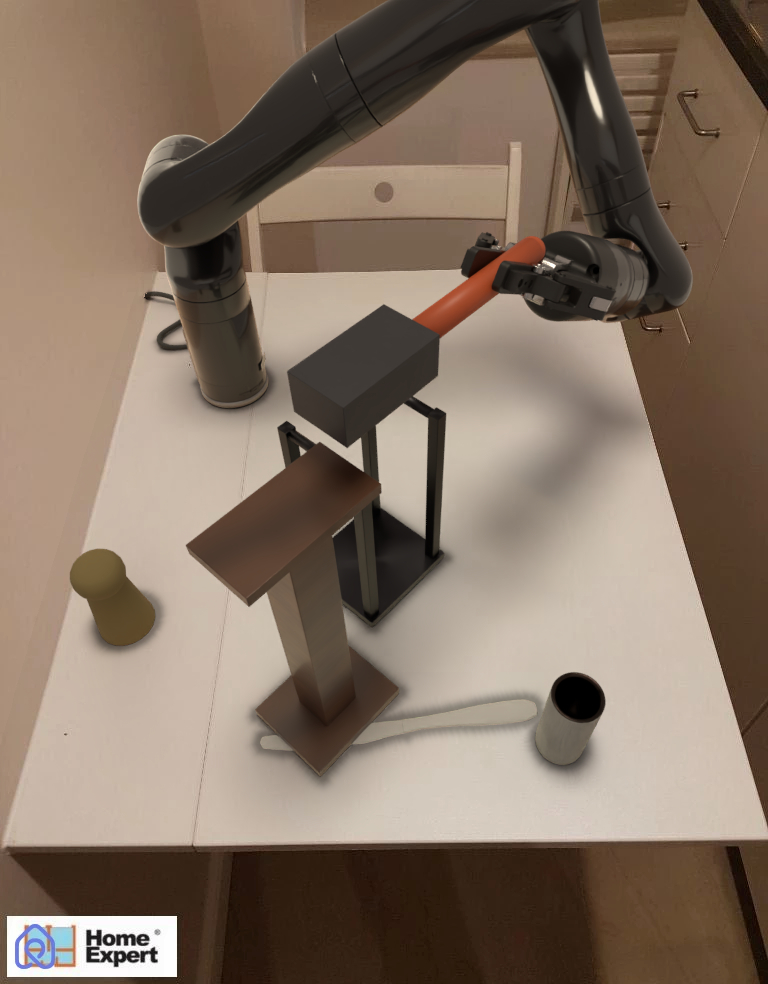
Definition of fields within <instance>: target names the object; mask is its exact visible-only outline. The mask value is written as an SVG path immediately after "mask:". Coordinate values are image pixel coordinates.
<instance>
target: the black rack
mask: <svg viewBox="0 0 768 984" xmlns="http://www.w3.org/2000/svg"><path fill="white" fill-rule="evenodd" d="M403 405H404V406H407V407H409V408H410V409H412V410H414V411H415V412H417V413H418V414H420V415H422V416H423V417H425V418H426V419H427V443H426V444H427V447H426V449H427V451H426V453H427V454H426V485H425V486H426V487H425V496H426V497H425V527H424V528H425V529H424V530H425V531H424V532H425V533H424V537H423V536H422V535H420V534H419V533H417V532H416V531H415V530H413V529H412V528H410V527H409V526H408V525H406V524H405V523H403V522H402V521H400V520H399V519H398V518H396V517H395V516H394V515H392V514H391V513H389V512H387V510H385V509H383V508H382V507H381V494H380V495H379V496H377V497H376V498H375V499H374V500H373V501H372V502H370V503H369V504H368V505H367V506H366V507H365V508H363V509H362V510H361V511H360V512H359V513H358V514H357V515H355V516H354V517H353V519H351V520H350V521H349V523H347V524H346V526H343V527H342V528H341V530H339V532H336V533H335V534H334V536H332V538H333V545H334V551H335V558H336V565H337V572H338V579H339V585H340V592H341V599H342V605H344V606H345V607H346V608H347V609H349V611H351V612H352V613H353V614H354V615H356V616H357V617H358V618H360V619H361V620H362V621H363V622H364V623H366V624H367V625H368V626H369V627H370V628H373V627H375V626H376V625H377V624H378V623H379V622H380V621H381V620H382V619H383V618H384V617H385V616H386V615H387V614H388V613H390V611H391V610H392V609H393V608H394V607H395V606H396V605H398V603H399V602H400V601H401V600H402V599H403V598H404V597H405V596H406V595H407V594H408V593H410V591H412V590H413V588H415V586H416V585H418V584H419V583H420V582H421V581H422V580H423V579H424V578H425V577H426V576H427V575H428V574H429V573H430V572H431V571H432V570H433V569H434V568H435V567H436V566H437V565H438V564H439V563H440V562H441V561H442V560H443V559H444V558H445V552H444V551H443V550H441V549H440V548H441V547H440V546H441V545H440V544H441V528H442V507H443V489H444V488H443V487H444V469H445V467H444V466H445V450H446V430H447V412H446V411H444V410H443V409H441V408H439V407H434V408H433V407H431V405H428V404H426V403H425V402H423V401H421V399H418V398H416V396H415V397H414V395H413V396H412V397H411V398H410V399H408V400H407V401H406V402H405V403H403ZM296 427H297V426H295V425H294V424H292V422H290V421H288V420H286V421H284V422H283V423H281V424H280V425H279V426H277V428H276V429H277V434H278V438H279V439H278V440H279V443H280V449H281V453H282V458H283V463H284V469H285V468H286V467H287V466H289V465H290V464H291V463H293V462H294V461H295V460H296V459H298V458H299V457H300V456H302V454H301V450H300V448H301V449H302V450H303V451H305V452H307V451H308V450H309V449H311V448H312V447H313V446H315V445H316V444H317V443H315V442H314V441H312V440H311V439H310V438H308V437H307V436H305V435H304V434H302V433H301V432H299V431H298V430H297V428H296ZM360 443H361V444H360V445H361V457H362V466H363V468H362V469H363V470H362V471H363V472H365V473H366V474H368V475H369V476H370V477H372V478H373V479H375V480H376V481H378V482H379V483H380V473H379V458H378V457H379V455H378V437H377V425H376V426H374V427H373V428H372V429H371V430H369V431H368V432H367V433H366V434H364V435H363V436H362V437H361V438H360Z"/></svg>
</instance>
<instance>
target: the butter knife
mask: <svg viewBox="0 0 768 984" xmlns="http://www.w3.org/2000/svg"><path fill="white" fill-rule="evenodd" d="M537 715H538V708H537V705H536V703H535V702H534V701H532V700H528V699H525V698H524V699H511V700H501V701H496V702H488V703H484V704H483V703H482V704H475V705H471V706H468V707H463V708H458V709H454V710H450V711H445V712H440V713H433V714H429V715H423V716H422V715H421V716H418V717H409V718H402V719H396V720H394V719H393V720H387V721H386V720H385V721H377V722H372V723H371V724H370V725H369V726H368V727H367V728H366V729H365V730H364V731H363V732H362V733H361V734H360V735H359V736H358V737H357V739H356V740H355V741H354V742H353V743H352V744H351V745H365V744H368V743H372V742H375V741H379V740H382V739H385V738H390V737H393V736H399V735H404V734H408V733H412V732H416V731H420V730H430V729H440V728H448V727H482V726H495V725H497V726H498V725H508V724H516V723H523V722H527V721H530V720H532V719H533V718H535V717H537ZM259 744H260V746H261V748H262V749H266V750H273V751H275V750H276V751H287V752H289V751H290V752H295V751H294V750H293V749H292V748H291V747H290V746H289V745H288V744H287V743H286V742H285V741H284V740H283V739H281V738H280V737H279V736H278V735H277V734H272V735H264V736H262V737H261V738H260V741H259Z"/></svg>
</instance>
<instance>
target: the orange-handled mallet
mask: <svg viewBox="0 0 768 984" xmlns="http://www.w3.org/2000/svg"><path fill="white" fill-rule="evenodd" d="M516 243H517V244H516V245H514V246H513V247H511V248H510V249H509V250H507V251H506V252H504V253H503V254H502V255H500V256H499V257H498V258H496V259H495V260H493V261H492V262H491V263H489V264H488V265H487V266H485V267H484V268H482V269H481V270H480V271H478V272H477V273H475V274H474V275H473V276H471V277H470V278H467V279H466V280H464V281H463V282H462V283H460V284H459V285H458V286H456V287H455V288H454V289H452V290H451V291H449V292H448V293H446V294H445V295H444V296H442V297H441V298H440V299H438V300H437V301H435V302H434V303H432V304H431V305H430V306H428V307H427V308H426V309H424V310H423V311H421V312H420V313H419V314H418V315H416V316H415V317H414V318H410V317H409V316H407V315H404V314H403V313H401V312H399V311H397V310H396V309H394V308H392V307H390V306H389V305H386V304H384V303H383V304H381V305H380V306H379V307H378V308H376V309H375V310H373V311H372V312H370V313H369V314H367V315H366V316H364V317H362V319H360V320H359V321H357V322H356V323H355V324H353V325H351V326H350V327H349V328H347V329H346V330H344V331H343V332H342V333H340V334H339V335H337V336H335V337H334V338H333V339H331V340H330V341H328V342H326V344H324V345H322V346H321V347H320V348H317V350H315V351H314V352H312V353H311V354H309V355H308V356H307V357H305V358H304V359H302V360H301V361H299V362H297V364H295V365H294V366H292V367H290V368H289V369H287V371H286V374H287V380H288V386H289V392H290V397H291V402H292V408H293V412H294V413H295V414H296V415H298V416H299V417H301V418H302V419H304V420H305V421H306V422H308V423H310V424H311V425H313V426H314V427H315V428H317V429H318V430H320V431H321V432H322V433H324V434H325V435H327V436H329V437H330V438H331V439H333V440H335V441H336V442H337V443H339V444H340V445H341V446H343V447H344V448H346V449H348V448H350V447H351V446H352V445H353V444H354V443H356V442H357V441H358V440H360V439H361V437H362V436H363V435H364V434H366V433H367V432H368V431H369V430H371V429H372V428H373V427H374V426H376V427H377V425H379V423H381V422H382V421H384V420H385V419H386V418H388V416H389V415H391V414H392V413H394V412H395V411H396V410H397V409H398V408H400V407H401V406H402V405H404V403H405V402H406V401H407V400H408V399H410V398H411V397H412V396H413V397H414V396H415V395H416V394H418V393H419V392H420V391H421V390H423V388H425V387H426V386H428V385H429V384H431V382H432V381H434V380H435V379H436V378H438V377H439V364H440V342H441V341H440V339H442V338H443V337H444V336H445V335H447V334H448V333H450V332H451V331H452V330H453V329H454V328H456V327H458V326H459V325H460V324H461V323H462V322H464V321H465V320H466V319H468V318H469V317H470V316H472V315H473V314H474V313H475V312H477V311H478V310H479V309H481V308H482V307H483V306H485V305H486V304H487V303H489V302H490V301H491V300H493V299H494V298H496V297H497V296H498V295H499V294H500V293H498V292H496V291H494V290H492V283H493V281H494V278H495V275H496V273H497V270H498V268H499V265H500V264H501V262H502V261H504V260H506V261H514V262H523V263H527V264H529V265H531V264H532V263H540V262H541V261H542V259H543V258H544V256H545V250H546V249H545V245H544V243H543V241H542V240H541V238H540V237H538V236H536V235H530V236H529V235H528V236H526V237H524V238H522V239H521V240H519V241H518V242H516Z"/></svg>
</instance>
